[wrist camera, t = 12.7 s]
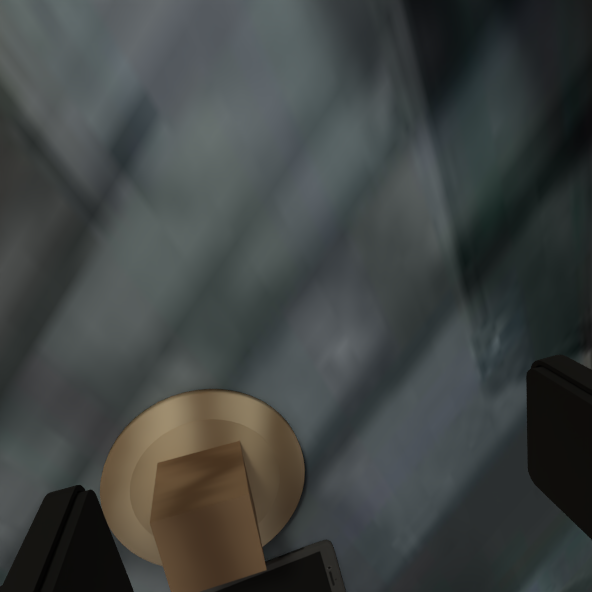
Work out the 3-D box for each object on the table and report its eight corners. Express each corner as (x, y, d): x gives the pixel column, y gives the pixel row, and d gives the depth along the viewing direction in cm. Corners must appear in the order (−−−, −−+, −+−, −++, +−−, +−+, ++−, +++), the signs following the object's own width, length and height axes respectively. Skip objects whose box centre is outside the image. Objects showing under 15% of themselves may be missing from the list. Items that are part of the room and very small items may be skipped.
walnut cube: (239, 440, 33) (249, 494, 27) (254, 506, 35) (266, 570, 29) (157, 462, 32) (149, 522, 26) (177, 529, 34) (173, 600, 28)
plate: (285, 367, 33) (287, 372, 33) (315, 528, 38) (318, 536, 37) (75, 419, 31) (72, 426, 30) (132, 585, 35) (131, 595, 34)
